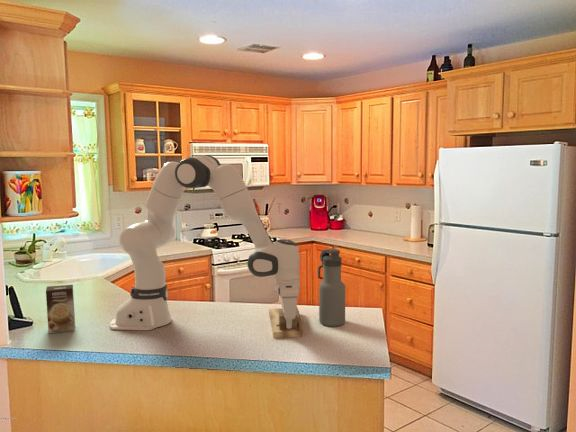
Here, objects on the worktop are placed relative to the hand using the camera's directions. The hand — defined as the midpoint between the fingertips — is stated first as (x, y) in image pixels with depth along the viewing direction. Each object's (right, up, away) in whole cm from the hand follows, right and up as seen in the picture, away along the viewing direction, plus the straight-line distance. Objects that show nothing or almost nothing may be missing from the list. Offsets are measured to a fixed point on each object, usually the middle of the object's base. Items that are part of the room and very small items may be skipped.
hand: (287, 323), depth 177 cm
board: (-1, -2, +9) cm, 10 cm away
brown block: (0, -2, 0) cm, 2 cm away
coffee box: (-83, -4, +7) cm, 84 cm away
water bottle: (+17, -2, +11) cm, 20 cm away
